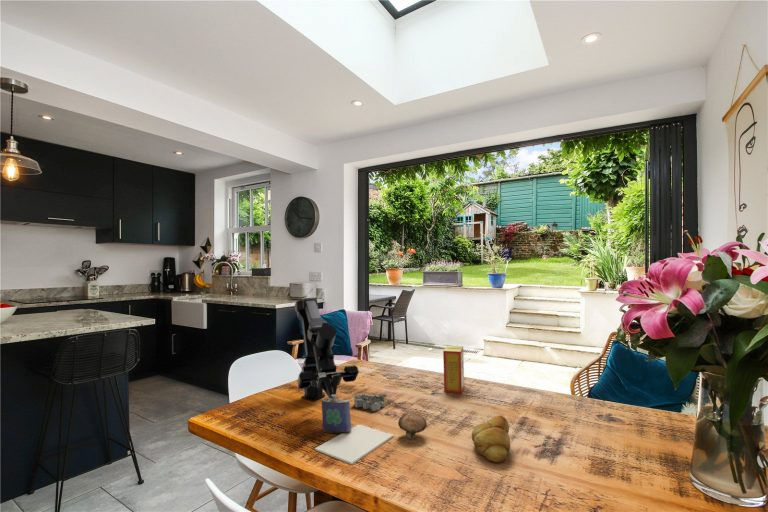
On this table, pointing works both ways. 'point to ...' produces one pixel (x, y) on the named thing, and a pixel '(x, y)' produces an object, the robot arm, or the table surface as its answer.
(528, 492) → the table surface
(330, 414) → the flask
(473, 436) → the bread roll
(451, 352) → the baking soda box
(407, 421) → the mushroom
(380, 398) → the egg carton
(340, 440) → the serving board
